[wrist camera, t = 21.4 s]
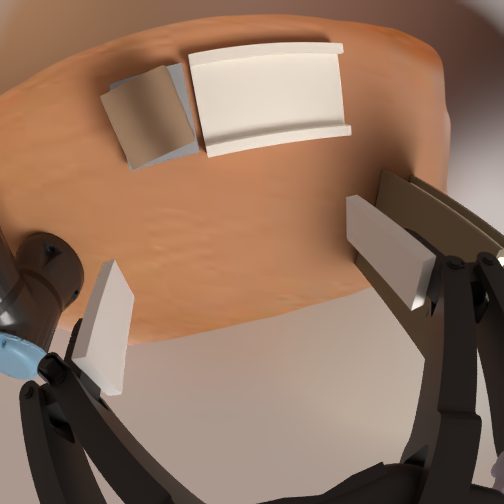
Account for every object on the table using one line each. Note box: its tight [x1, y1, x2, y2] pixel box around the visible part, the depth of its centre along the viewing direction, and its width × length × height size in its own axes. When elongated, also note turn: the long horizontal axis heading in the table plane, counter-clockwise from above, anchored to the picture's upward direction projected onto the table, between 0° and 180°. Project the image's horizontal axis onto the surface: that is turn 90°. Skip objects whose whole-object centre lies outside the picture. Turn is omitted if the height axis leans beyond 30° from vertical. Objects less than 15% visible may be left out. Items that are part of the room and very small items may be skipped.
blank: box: [100, 65, 195, 170], centre depth 29 cm, size 8×10×6 cm
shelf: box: [188, 42, 351, 158], centre depth 35 cm, size 22×15×3 cm
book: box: [355, 169, 504, 358], centre depth 41 cm, size 22×9×28 cm, turn 174°
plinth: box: [109, 63, 199, 171], centre depth 33 cm, size 10×13×3 cm
